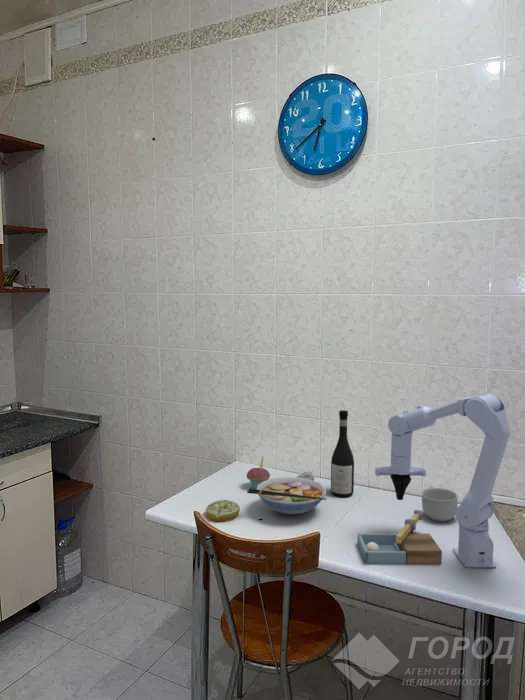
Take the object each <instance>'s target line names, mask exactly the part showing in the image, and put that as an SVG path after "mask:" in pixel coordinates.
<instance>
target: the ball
mask: <svg viewBox="0 0 525 700" xmlns="http://www.w3.org/2000/svg"><path fill="white" fill-rule="evenodd" d="M366 548H367V550H368V551H379V547H378V545H377V544H376V543H374V542H370V543H368V544H367V545H366Z"/></svg>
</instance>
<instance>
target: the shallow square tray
mask: <svg viewBox="0 0 525 700" xmlns="http://www.w3.org/2000/svg"><path fill="white" fill-rule="evenodd" d="M396 536H397V534H396V533H357V546H359V547H358V549H359V552H360V554H361V557H362V559H363V562H364V564H375V563H376V564H381V565H382V564H383V565H384V564H386V565H387V564H388V565H389V564H392V565H394V564H397V565H398V564H399V565H403V564H404V565H405V564H407V563H406V552H405V551H401V550H400V549H399V547H398V545H397V543H396ZM370 542H374V543H376V544H377V545H378V547H379V551H368V550H367V548H366V545H367V544H368V543H370ZM376 564H375V565H376Z"/></svg>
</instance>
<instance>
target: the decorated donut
mask: <svg viewBox="0 0 525 700" xmlns="http://www.w3.org/2000/svg"><path fill="white" fill-rule="evenodd" d="M240 510H241V509H240V505H239V504H238V503H236V502H235V501H233V500H229V499H220V500H216V501H213V502H211V503H210V504H208V505H207V507H205V513H206V516H207V518H208V519H209V520H210V519H211V520H210V521H213V520H215V521H214V522H226V521H225V520H228V521H231V520H234V519H236V518H235V517H238V515H239V514H240Z"/></svg>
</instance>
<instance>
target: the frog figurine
mask: <svg viewBox="0 0 525 700" xmlns="http://www.w3.org/2000/svg"><path fill="white" fill-rule="evenodd" d="M296 477H298V478H304V479H310V480H313V481H315V476H314V475H313V473H312V471H304V472H302V473H300V474H298V475H297V476H296Z"/></svg>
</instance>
